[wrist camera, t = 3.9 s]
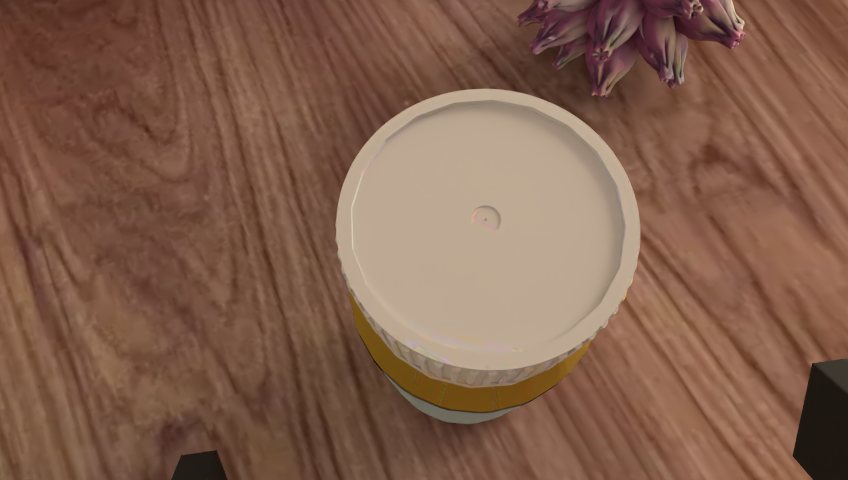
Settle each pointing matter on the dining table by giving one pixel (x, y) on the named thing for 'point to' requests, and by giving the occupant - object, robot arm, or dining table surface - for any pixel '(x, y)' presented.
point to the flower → (630, 34)
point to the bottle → (484, 249)
